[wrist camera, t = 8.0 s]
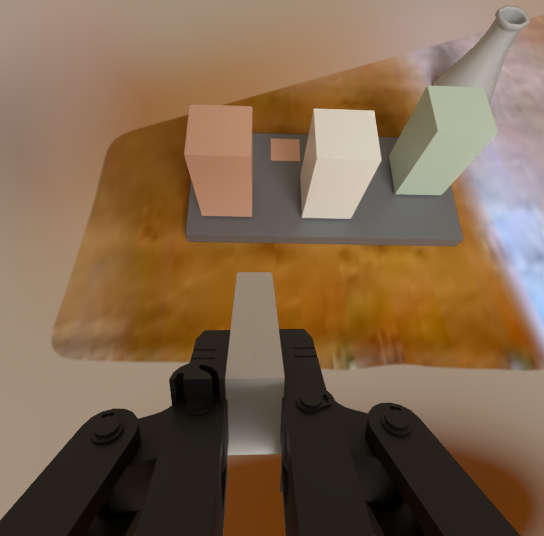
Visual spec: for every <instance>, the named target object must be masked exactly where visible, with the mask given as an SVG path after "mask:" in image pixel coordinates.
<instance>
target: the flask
mask: <svg viewBox="0 0 544 536" xmlns="http://www.w3.org/2000/svg"><path fill="white" fill-rule="evenodd" d="M495 16H496V19H495V21H494V22H493V24H492V25H491V27H490V28H489V30H488V31H487V32H486V34H485V35H484V36H483V37H482V38H481V39H480V41H479V42H478V43H477V44H476V45H475V46H474V47H473V48H472V49H471V50H470V51H469V52H468V53H466V54H465V55H464V56H463V57H462V58H461V59H460V60H459V61H458V62H457V63H455V64H454V65H453V66H452V67H451V68H450V69H448V70H447V71H446V72H445V73H444V74H443V75H441V76H440V77H439V78H438V79H437V80H436V81H435V82H433V86H455V87H481V88H484V90H485V93H486V96H487V99H488V102H489V105H490V102H491V99H492V96H493V92H494V89H495V85H496V82H497V79H498V76H499V73H500V70H501V67H502V64H503V61H504V58H505V56H506V54H507V52H508V50H509V48H510V46H511V44H512V42H513V40H514V39H515V37H516V36H517V34H518V33H519V31H520V30H521V29H522V28H524V27H526V26H527V25H528V24H529V23H530V20H529V17H528V15H527V13H526V12H524V11H523V10H522V9H520V8H519V7H515V6H505V7H502V8H500V9H498V11H497V12H496V15H495Z"/></svg>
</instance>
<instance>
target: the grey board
mask: <svg viewBox="0 0 544 536" xmlns="http://www.w3.org/2000/svg"><path fill="white" fill-rule="evenodd" d="M398 138H399V137H378V139H379V146H380V152H381V159H382V160H381V162H380V164H379V166H378V168H377V170H376V172H375V174H374V176H373V178H372V179H371V181H370V183H369V185H368V187H367V189H366V191H365V193H364V195H363V197H362V198H361V200H360V202H359V204H358V206H357V208H356V210H355V212H354V214H353V216H352V217H351V219H334V218H302V210H301V185H300V175H301V170H302V165H303V160H304V155H305V150H306V145H307V140H308V135H303V134H271V133H253V203H252V217H235V216H202V214H201V211H200V207H199V204H198V201H197V197H196V194H195V190H194V187H193V183H192V180H191V186H190V196H189V205H188V215H187V225H186V237H187V240H188V242H243V243H302V244H360V245H419V246H456V245H457V244H459V243H460V242H461V241H463V236H462V231H461V227H460V223H459V218H458V214H457V210H456V206H455V201H454V197H453V193H452V189H451V185H450V186H449V187H448V189H447V190H446V191H445V192H444V193H443V194H442V195H406V194H395V191H394V185H393V178H392V172H391V166H390V160H389V155H390V153H391V151H392V149H393V147H394V146H395V144H396V142H397V140H398Z"/></svg>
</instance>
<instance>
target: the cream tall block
mask: <svg viewBox="0 0 544 536" xmlns="http://www.w3.org/2000/svg"><path fill="white" fill-rule="evenodd" d="M381 160H382V159H381V152H380V146H379V139H378V132H377V126H376V119H375V112H374V111H371V110H342V109H314V110H313V115H312V120H311V125H310V130H309V135H308V140H307V145H306V150H305V155H304V160H303V165H302V170H301V175H300V185H301V210H302V218H334V219H351V217H352V216H353V214H354V212H355V210H356V208H357V206H358V204H359V202H360V200H361V198H362V197H363V195H364V193H365V191H366V189H367V187H368V185H369V183H370V181H371V179H372V178H373V176H374V174H375V172H376V170H377V168H378V166H379V164H380V162H381Z"/></svg>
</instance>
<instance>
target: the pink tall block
mask: <svg viewBox="0 0 544 536" xmlns="http://www.w3.org/2000/svg"><path fill="white" fill-rule="evenodd" d="M184 156H185V159H186V163H187V166H188V170H189V173H190V176H191V180H192V183H193V187H194V190H195V194H196V197H197V201H198V204H199V207H200V211H201V214H202V216H235V217H252V203H253V123H252V106H226V105H197V104H195V105H194V104H190V108H189V116H188V125H187V134H186V143H185V152H184Z"/></svg>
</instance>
